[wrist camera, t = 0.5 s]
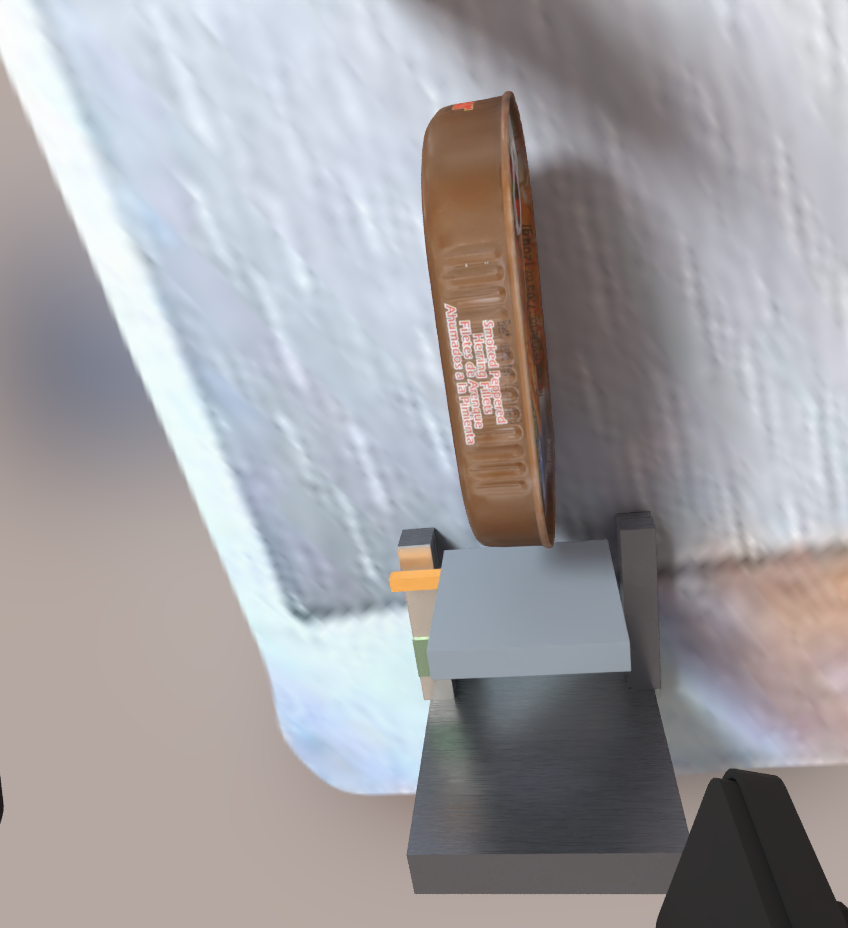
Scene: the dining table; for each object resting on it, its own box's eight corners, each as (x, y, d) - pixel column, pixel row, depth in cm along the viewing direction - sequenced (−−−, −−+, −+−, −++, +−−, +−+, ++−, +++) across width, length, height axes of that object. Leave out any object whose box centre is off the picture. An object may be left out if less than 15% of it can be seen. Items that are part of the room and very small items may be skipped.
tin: (558, 485, 33) (570, 595, 25) (483, 492, 33) (473, 601, 25) (523, 94, 27) (524, 80, 19) (434, 109, 27) (400, 102, 20)
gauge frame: (649, 511, 32) (701, 660, 23) (656, 701, 36) (703, 894, 27) (402, 529, 34) (360, 676, 25) (433, 709, 38) (406, 893, 29)
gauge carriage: (607, 539, 32) (629, 641, 25) (608, 564, 32) (630, 670, 26) (393, 553, 33) (364, 654, 27) (398, 577, 34) (369, 682, 27)
